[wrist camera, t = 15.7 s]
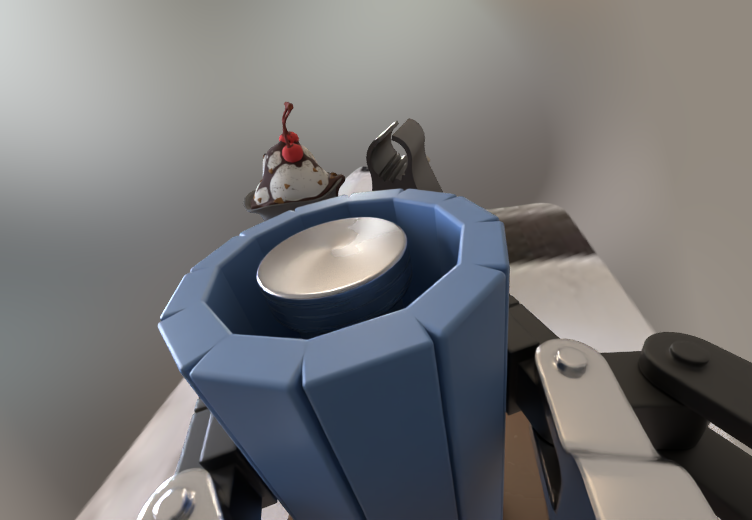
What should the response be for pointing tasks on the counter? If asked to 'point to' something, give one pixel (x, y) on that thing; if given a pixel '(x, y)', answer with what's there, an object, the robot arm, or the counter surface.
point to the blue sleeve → (362, 368)
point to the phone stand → (401, 160)
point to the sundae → (290, 178)
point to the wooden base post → (373, 315)
